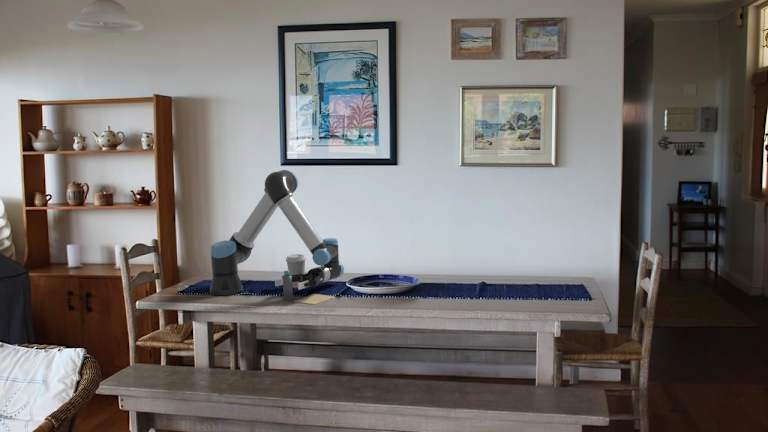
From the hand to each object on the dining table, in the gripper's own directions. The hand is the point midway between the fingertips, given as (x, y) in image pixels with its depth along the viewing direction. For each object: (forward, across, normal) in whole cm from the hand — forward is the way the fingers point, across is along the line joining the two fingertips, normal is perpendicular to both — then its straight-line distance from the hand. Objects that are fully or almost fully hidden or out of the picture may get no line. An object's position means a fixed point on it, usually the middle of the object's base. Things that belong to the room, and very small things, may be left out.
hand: (286, 285), depth 297 cm
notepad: (-7, +10, +7) cm, 14 cm away
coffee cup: (-22, -14, +7) cm, 27 cm away
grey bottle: (-1, 0, +7) cm, 7 cm away
